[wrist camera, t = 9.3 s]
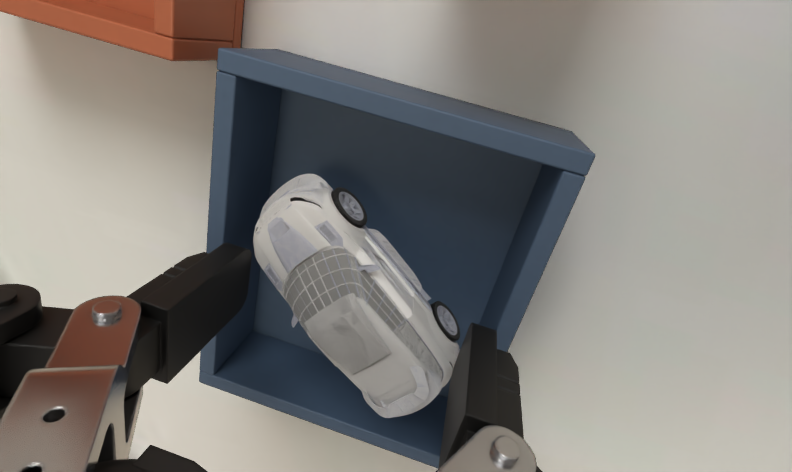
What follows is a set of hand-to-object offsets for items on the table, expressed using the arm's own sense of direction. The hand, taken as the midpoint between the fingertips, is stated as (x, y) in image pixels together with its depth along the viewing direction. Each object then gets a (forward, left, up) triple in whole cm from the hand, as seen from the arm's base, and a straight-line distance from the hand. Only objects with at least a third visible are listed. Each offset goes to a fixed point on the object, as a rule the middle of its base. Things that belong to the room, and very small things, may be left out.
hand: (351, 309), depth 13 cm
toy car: (0, 0, -2) cm, 2 cm away
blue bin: (0, 0, -4) cm, 4 cm away
